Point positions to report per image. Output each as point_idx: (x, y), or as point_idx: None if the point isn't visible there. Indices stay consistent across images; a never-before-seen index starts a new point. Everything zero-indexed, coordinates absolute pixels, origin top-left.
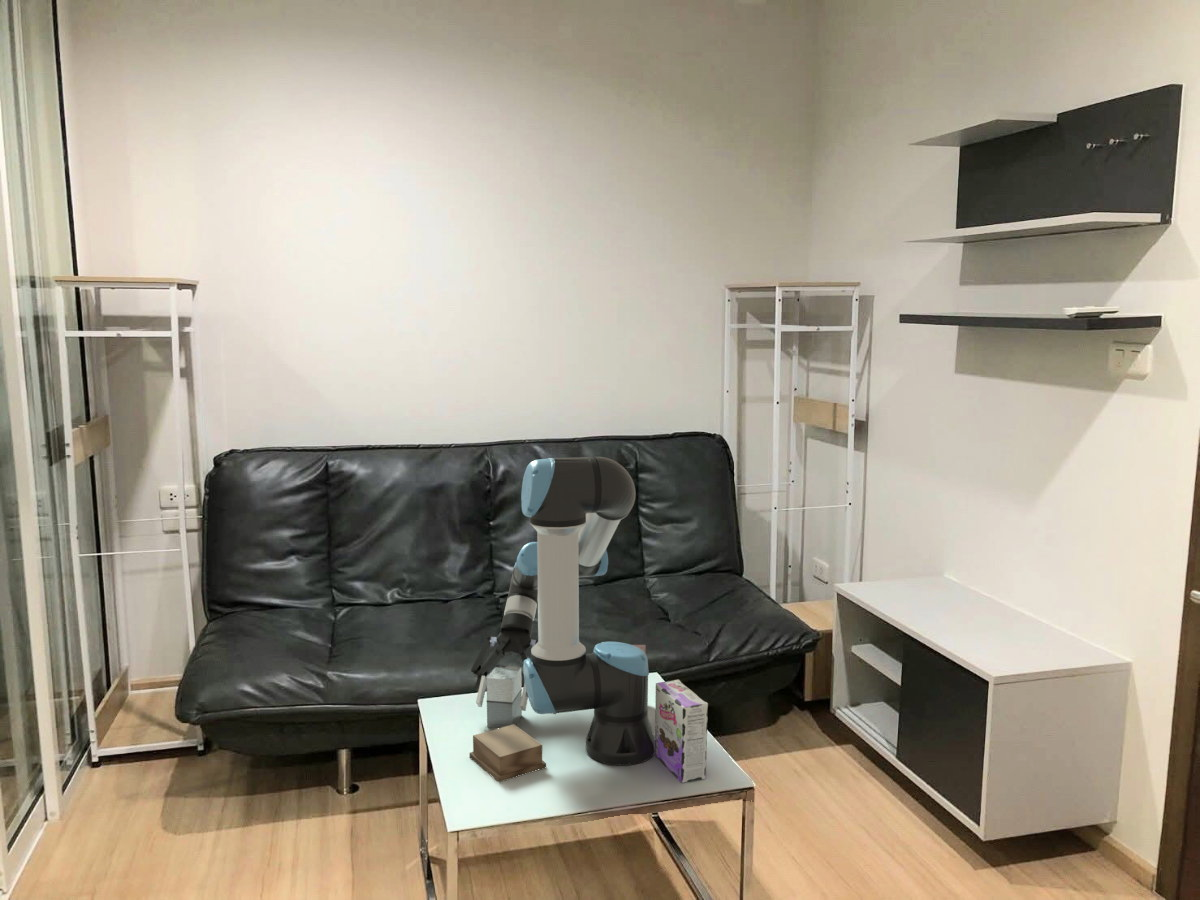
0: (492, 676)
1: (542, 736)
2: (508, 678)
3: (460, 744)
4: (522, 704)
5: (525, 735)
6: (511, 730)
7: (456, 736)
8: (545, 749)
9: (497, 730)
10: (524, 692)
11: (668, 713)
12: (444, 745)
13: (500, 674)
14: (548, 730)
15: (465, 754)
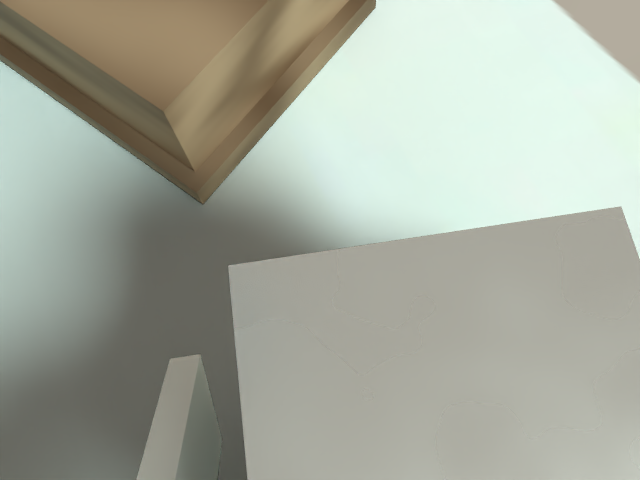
0: (570, 286)
1: (72, 355)
2: (297, 294)
3: (498, 103)
4: (177, 368)
5: (39, 2)
6: (149, 29)
7: (581, 177)
8: (16, 205)
9: (238, 2)
10: (158, 455)
11: None
12: (573, 67)
13: (497, 407)
14: (54, 457)
15: (410, 24)
